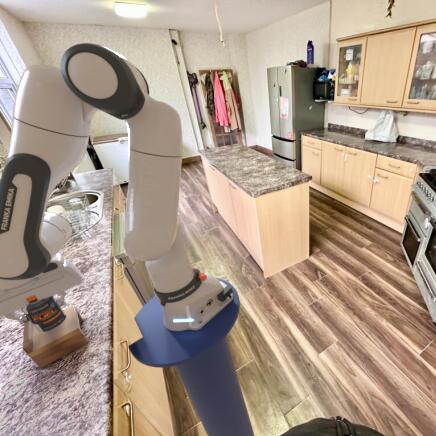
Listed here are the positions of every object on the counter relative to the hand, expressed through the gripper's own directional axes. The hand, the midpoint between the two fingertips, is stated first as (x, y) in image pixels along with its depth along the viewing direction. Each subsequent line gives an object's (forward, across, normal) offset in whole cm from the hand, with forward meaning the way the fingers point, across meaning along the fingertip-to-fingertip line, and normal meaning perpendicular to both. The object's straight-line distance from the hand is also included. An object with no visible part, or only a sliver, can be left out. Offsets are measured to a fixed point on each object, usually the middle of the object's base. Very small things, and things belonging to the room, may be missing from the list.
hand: (45, 312), depth 62 cm
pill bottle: (+4, 0, 0) cm, 4 cm away
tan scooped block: (+11, 0, 0) cm, 11 cm away
